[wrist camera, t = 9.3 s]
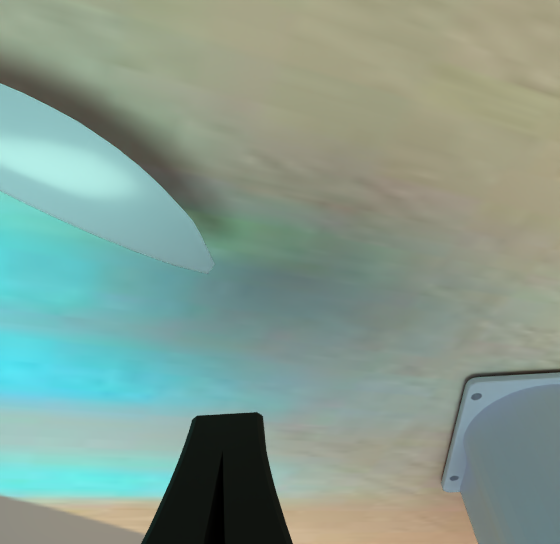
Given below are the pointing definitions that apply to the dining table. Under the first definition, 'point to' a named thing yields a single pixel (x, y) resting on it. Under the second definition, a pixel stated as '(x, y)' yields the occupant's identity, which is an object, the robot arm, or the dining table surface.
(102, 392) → the dining table surface
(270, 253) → the dining table surface
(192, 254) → the propeller
